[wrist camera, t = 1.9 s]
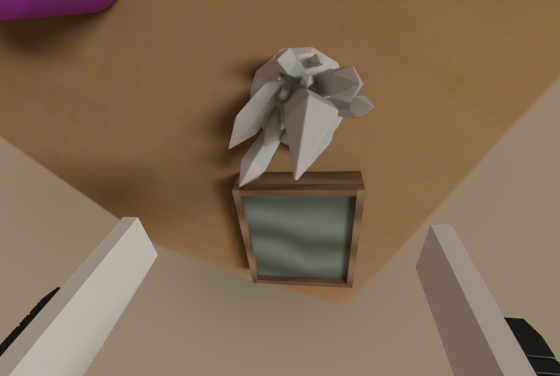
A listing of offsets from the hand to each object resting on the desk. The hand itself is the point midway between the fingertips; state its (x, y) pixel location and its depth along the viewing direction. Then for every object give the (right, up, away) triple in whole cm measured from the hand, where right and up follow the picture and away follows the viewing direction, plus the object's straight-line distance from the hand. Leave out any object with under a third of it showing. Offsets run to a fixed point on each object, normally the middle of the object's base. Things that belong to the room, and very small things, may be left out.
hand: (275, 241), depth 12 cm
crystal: (+2, +11, +15) cm, 19 cm away
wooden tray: (+3, -3, +25) cm, 25 cm away
